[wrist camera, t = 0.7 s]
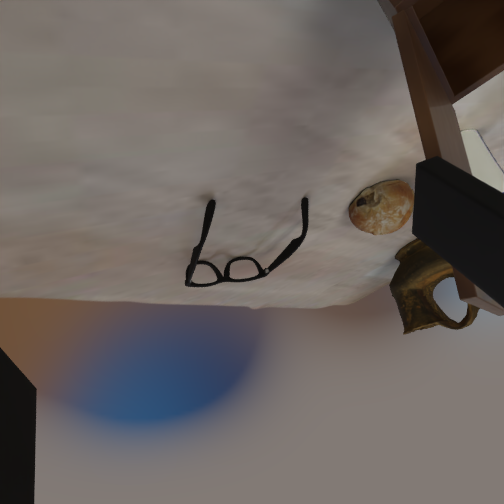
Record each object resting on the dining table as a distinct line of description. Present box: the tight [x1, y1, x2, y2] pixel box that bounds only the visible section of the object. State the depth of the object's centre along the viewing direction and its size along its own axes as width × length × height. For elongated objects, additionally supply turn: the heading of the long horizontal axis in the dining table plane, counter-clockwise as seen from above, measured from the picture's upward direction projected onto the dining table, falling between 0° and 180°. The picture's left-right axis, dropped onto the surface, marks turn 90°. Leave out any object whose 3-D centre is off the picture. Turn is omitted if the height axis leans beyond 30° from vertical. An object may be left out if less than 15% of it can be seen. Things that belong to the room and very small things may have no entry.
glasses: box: [185, 198, 308, 287], centre depth 64 cm, size 17×18×5 cm
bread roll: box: [349, 180, 414, 235], centre depth 68 cm, size 10×10×8 cm
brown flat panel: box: [392, 10, 504, 316], centre depth 29 cm, size 17×14×1 cm
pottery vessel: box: [389, 238, 480, 334], centre depth 93 cm, size 25×11×20 cm, turn 140°
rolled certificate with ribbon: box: [461, 129, 504, 193], centre depth 58 cm, size 8×8×25 cm
